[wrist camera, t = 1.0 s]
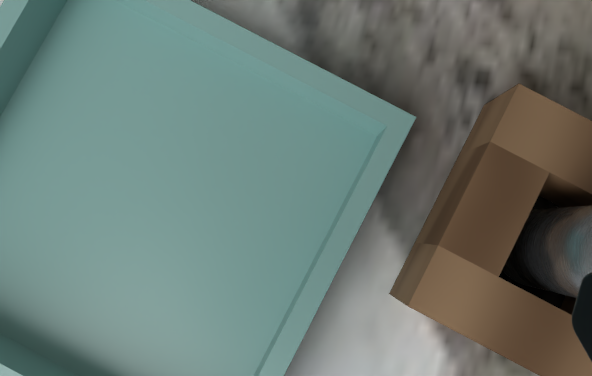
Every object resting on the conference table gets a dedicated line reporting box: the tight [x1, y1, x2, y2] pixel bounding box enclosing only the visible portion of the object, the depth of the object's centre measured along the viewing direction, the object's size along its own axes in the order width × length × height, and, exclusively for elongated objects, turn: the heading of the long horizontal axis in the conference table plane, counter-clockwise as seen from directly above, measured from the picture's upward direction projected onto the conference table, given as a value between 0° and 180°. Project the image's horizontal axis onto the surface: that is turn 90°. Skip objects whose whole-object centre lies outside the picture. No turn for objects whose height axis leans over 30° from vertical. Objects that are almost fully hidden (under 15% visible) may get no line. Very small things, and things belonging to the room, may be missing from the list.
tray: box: [0, 0, 416, 376], centre depth 21 cm, size 16×16×3 cm
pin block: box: [389, 84, 592, 376], centre depth 21 cm, size 9×9×4 cm
